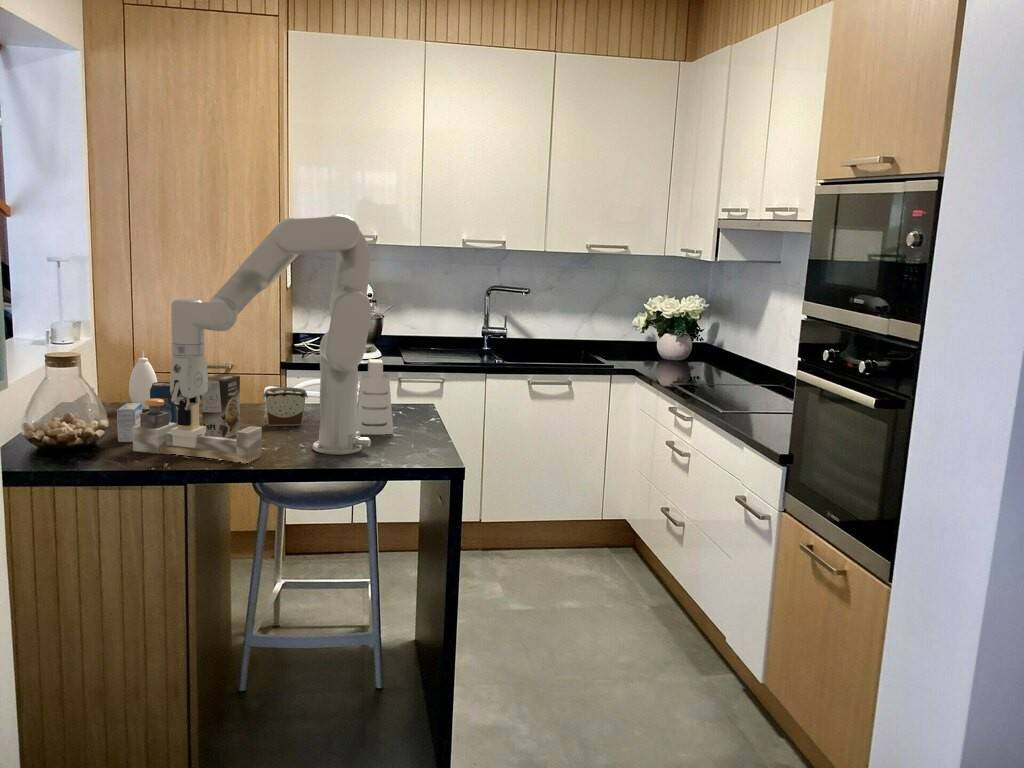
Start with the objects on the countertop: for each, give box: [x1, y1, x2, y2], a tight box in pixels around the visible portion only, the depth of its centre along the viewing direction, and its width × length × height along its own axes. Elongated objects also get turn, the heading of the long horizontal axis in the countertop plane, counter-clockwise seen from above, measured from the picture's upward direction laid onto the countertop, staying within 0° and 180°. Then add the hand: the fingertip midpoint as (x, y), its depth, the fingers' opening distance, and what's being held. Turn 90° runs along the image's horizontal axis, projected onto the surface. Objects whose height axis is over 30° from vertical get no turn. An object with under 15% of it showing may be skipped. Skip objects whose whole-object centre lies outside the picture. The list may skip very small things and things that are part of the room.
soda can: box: [150, 381, 178, 424], centre depth 249 cm, size 7×7×12 cm
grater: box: [356, 358, 394, 435], centre depth 259 cm, size 10×10×20 cm
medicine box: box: [116, 402, 143, 443], centre depth 235 cm, size 8×4×9 cm, turn 9°
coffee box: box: [201, 373, 241, 439], centre depth 242 cm, size 9×6×16 cm
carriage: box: [171, 401, 206, 448], centre depth 225 cm, size 6×6×10 cm
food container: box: [262, 386, 308, 427], centre depth 262 cm, size 12×6×10 cm, turn 108°
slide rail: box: [132, 410, 263, 464], centre depth 225 cm, size 30×8×9 cm, turn 78°
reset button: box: [145, 399, 164, 415], centre depth 226 cm, size 4×4×4 cm
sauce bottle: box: [128, 349, 158, 410], centre depth 267 cm, size 8×8×18 cm
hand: (188, 422), depth 225 cm, fingers closed on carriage, 3 cm apart
